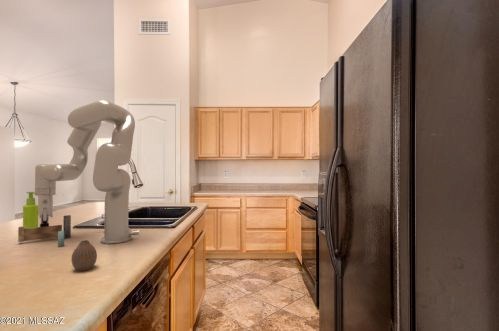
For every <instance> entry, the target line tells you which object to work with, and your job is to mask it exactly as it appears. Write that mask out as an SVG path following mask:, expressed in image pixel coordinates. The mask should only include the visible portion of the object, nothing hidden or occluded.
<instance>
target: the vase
mask: <svg viewBox="0 0 499 331" xmlns="http://www.w3.org/2000/svg"><path fill="white" fill-rule="evenodd" d="M97 258H98V253H97V250H96V248H95V246H93V244H92V243H91V242H90V240H87V239H84V240H81V241H80V242H79V243H78V245H77V246H76V247H75V249H74V250H73V252H72V254H71V264H72V267H73V268H74V269H75V270H76V271H77V272H84V271H88V270H89V271H90V270H91V269H92V268H93V267H94V266H95V264H96V262H97Z"/></svg>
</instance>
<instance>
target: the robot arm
mask: <svg viewBox="0 0 499 331" xmlns="http://www.w3.org/2000/svg"><path fill="white" fill-rule="evenodd" d="M102 122H105V123H109V124H113V125H115V127H114V129H113V131H112V134H111V139H110V140H111V141H110V142H105V143H104V144H101V146H99V147H98V149H97V151H96V154H95V159H94V166H93V174H92V183H93V186H94V187H95V189H96V190H97V191H99V192H103V193H105V196H104V222H103V223H104V229H103V230H104V232H103V233H104V236H103V237H101V238H100V239H99V240H100V243H102V244H107V245H110V244H111V245H113V244H120V243H125V242H128V241H131V240H132V239H133V236H139V235H140V230H137V229H134V230H132V229H131V228H130V227H129V204H130V202H129V201H130V200H129V199H130V198H129V196H130V195H129V194H130V188H131V176H130V174H129V172H127V170H124V169H123V168H119V166H120V167H121V166H125V165H127V164H129V163H130V161H131V158H132V157H131V156H132V150H133V143H134V142H133V140H134V134H135V127H136V120H135V117H134V115H133V114H132V113H131V112H130V111H129V110H127V109H126V108H125V107H122V106H120V105H119V104H118V105H117V104H116V103H113V102H110V101H108V100H103V99H100V100H96V101H93V102H91V103H87V104H85V105H82V106H79V107H77V108H75V109H72V110H71V111H70V112H69V114H68V116H67V123H68V125H69V126H70V127H71V128H73V129H72V131H71V133H70V134H69V136H68V138H67V140H66V141H67V144H68V146H70V147H71V148H72V150H73V154H72V158H71V159H70V162H69V163H57V164H46V163H45V164H43V163H42V164H39V163H38V164H37V165H35V166H34V167H35V169H34V192H35V194H34V196H35V197H37V205H38V219H40V224H39V227H46V226H50V223H49V219H50V218H53V216H54V215H53V214H54V209H53V208H54V206H53V205H54V197H53V196H56V195H57V194H56V190H57V189H56V188H57V185H56V184H57V182H65V181H67V182H68V181H74V180H77V179H78V178H79V177H80V176H82V173H83V172H84V170H85V168H86V166H87V164H88V159H89V152H88V149H89V147H90V146H91V144H92V143H93V142H92V141H93V140H94V138H95V137H96V134H97V133H98V131H99V129H100V128H101V125H102Z"/></svg>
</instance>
